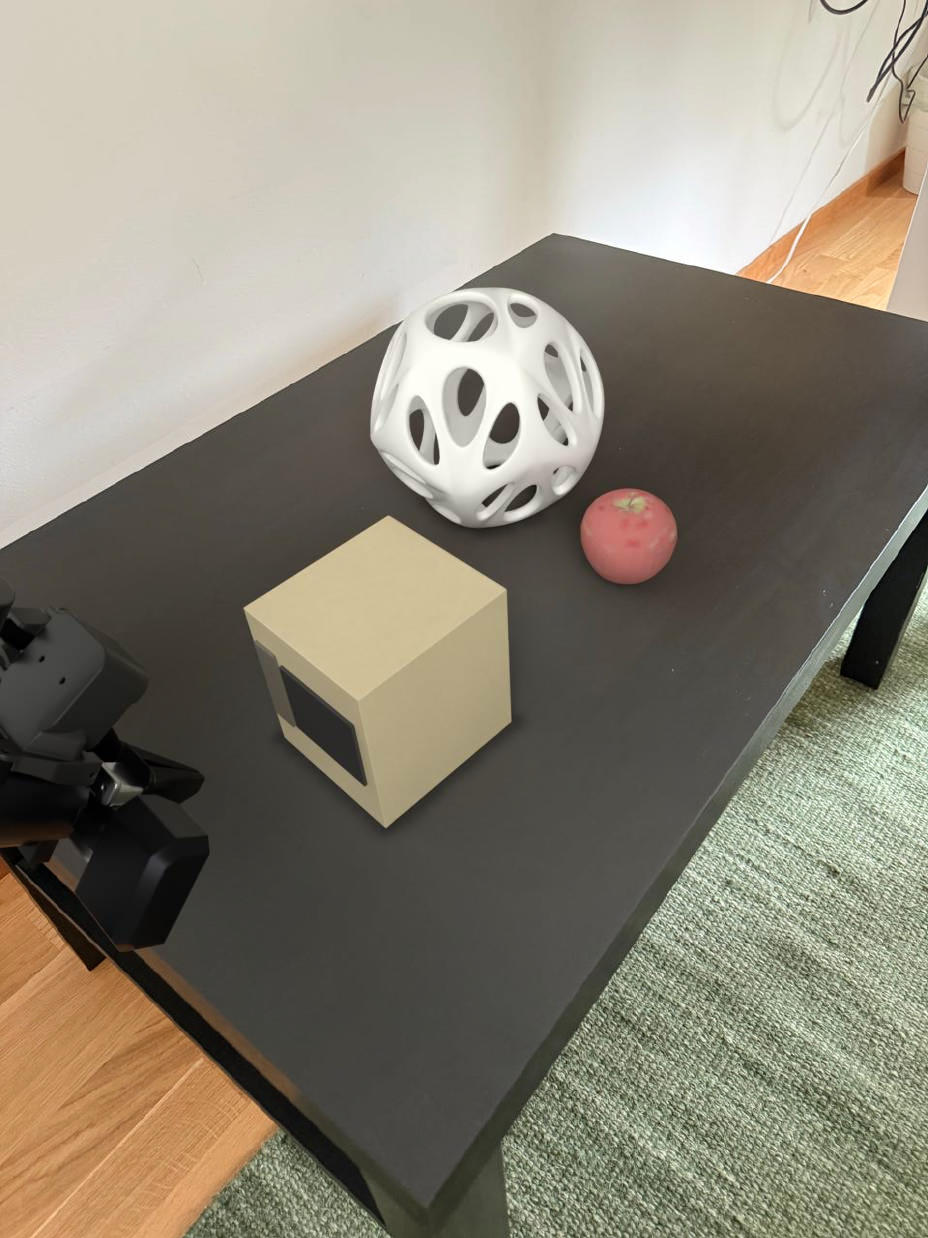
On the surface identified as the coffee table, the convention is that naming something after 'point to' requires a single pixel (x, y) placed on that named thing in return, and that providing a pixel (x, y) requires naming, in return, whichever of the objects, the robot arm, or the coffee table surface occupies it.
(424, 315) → the decorative ball
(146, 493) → the coffee table surface
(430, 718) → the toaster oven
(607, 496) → the apple
